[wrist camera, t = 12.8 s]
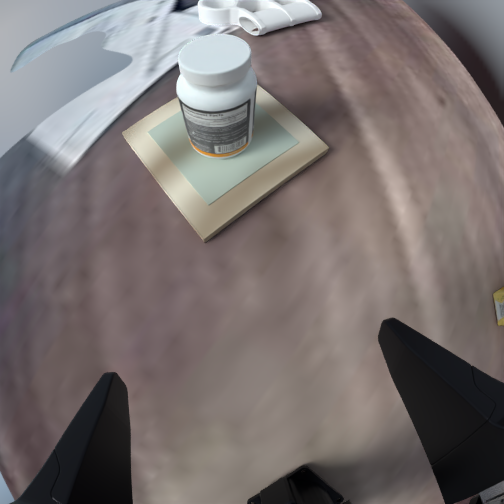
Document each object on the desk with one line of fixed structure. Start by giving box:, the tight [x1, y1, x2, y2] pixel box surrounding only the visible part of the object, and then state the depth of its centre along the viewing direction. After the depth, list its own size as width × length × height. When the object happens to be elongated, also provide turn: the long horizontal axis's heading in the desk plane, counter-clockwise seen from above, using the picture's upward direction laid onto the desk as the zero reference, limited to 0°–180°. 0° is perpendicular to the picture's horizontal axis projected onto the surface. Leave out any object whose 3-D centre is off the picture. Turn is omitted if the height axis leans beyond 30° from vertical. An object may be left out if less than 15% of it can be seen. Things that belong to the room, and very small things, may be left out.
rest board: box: [122, 84, 329, 243], centre depth 25 cm, size 14×14×1 cm
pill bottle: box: [177, 34, 257, 159], centre depth 20 cm, size 6×6×10 cm
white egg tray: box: [198, 0, 322, 36], centre depth 31 cm, size 3×18×15 cm
